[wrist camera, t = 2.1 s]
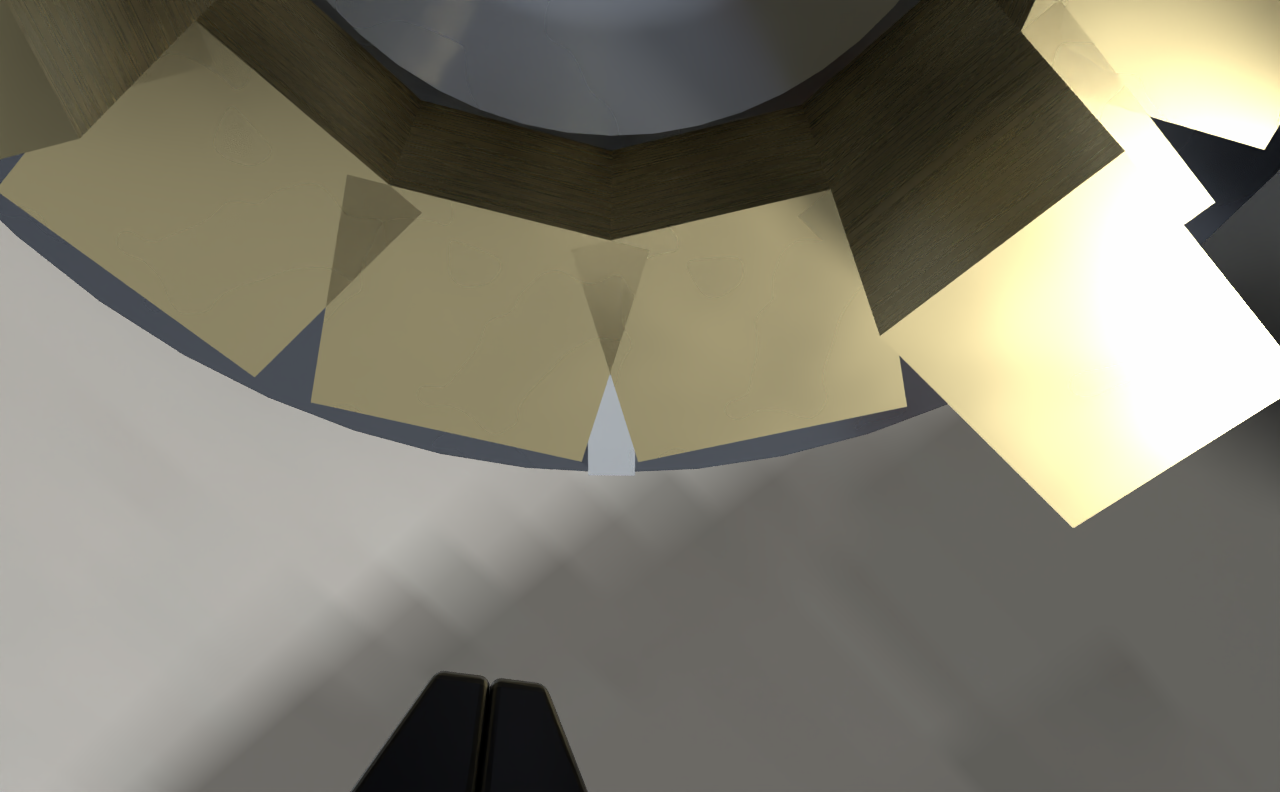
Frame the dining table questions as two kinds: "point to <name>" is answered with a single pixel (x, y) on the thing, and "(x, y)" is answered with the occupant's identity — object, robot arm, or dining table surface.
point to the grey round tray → (612, 119)
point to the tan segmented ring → (683, 229)
